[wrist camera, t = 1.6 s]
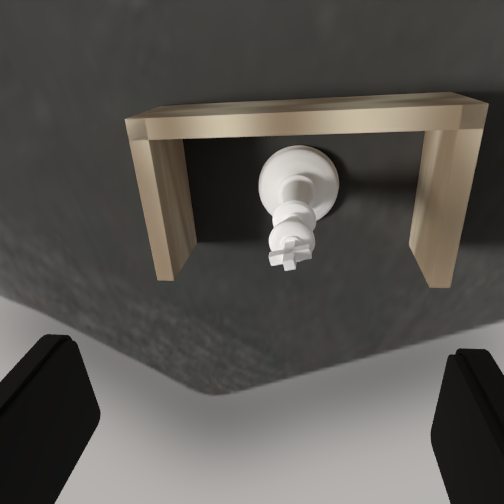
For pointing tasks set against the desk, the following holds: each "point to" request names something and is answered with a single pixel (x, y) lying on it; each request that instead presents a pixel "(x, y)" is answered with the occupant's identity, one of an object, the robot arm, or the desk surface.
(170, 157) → the open-side wooden frame
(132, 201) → the desk surface
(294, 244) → the chess piece
